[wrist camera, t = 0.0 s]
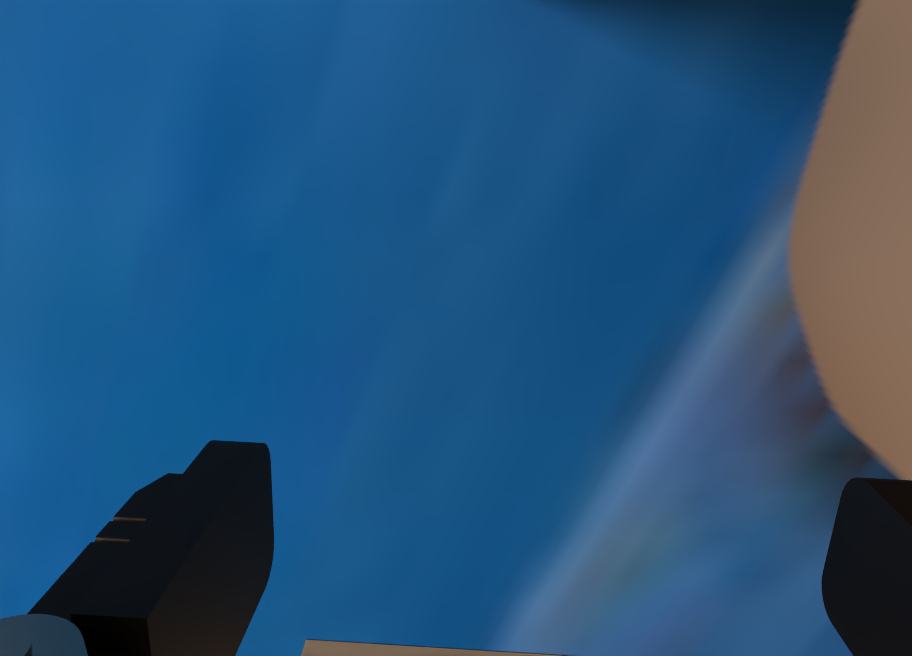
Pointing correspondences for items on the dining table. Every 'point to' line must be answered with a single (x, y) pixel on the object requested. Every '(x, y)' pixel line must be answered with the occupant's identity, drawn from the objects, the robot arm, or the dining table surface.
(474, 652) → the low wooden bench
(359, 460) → the dining table surface
